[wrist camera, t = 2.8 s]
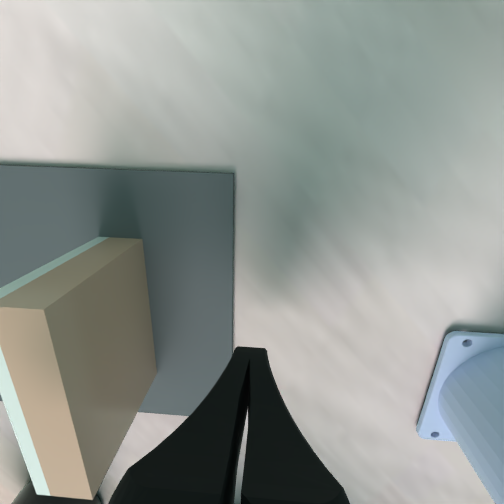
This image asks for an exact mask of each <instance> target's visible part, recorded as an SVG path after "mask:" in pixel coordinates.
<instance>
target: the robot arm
mask: <svg viewBox="0 0 504 504" xmlns="http://www.w3.org/2000/svg"><path fill="white" fill-rule="evenodd" d="M466 339H467V341H465V342H463V341H464V340H466ZM247 409H248V434H247V444H246V454H245V463H244V472H243V481H242V489H241V504H350V503H349V500H348V498H347V495H346V493H345V491H344V489H343V487H342V486H341V485H340V484H339V482H338V481H337V480H336V479H335V478H334V477H333V475H332V474H331V473H330V472H329V471H328V469H327V468H326V467H325V466H324V464H323V463H322V462H321V460H320V459H319V458H318V457H317V455H316V454H315V453H314V451H313V450H312V448H311V447H310V445H309V444H308V442H307V441H306V439H305V438H304V436H303V435H302V433H301V432H300V430H299V429H298V427H297V425H296V424H295V422H294V420H293V418H292V417H291V415H290V413H289V411H288V409H287V407H286V405H285V403H284V401H283V399H282V397H281V395H280V392H279V390H278V388H277V385H276V382H275V380H274V377H273V374H272V371H271V368H270V365H269V361H268V356H267V350H266V349H265V348H253V347H236V348H235V350H234V353H233V355H232V357H231V359H230V361H229V363H228V365H227V366H226V368H225V370H224V371H223V373H222V374H221V376H220V378H219V379H218V381H217V382H216V384H215V385H214V386H213V388H212V389H211V390H210V392H209V393H208V395H207V396H206V397H205V398H204V400H203V401H202V402H201V403H200V405H199V406H198V407H197V408H196V409H195V410H194V411H193V413H192V414H191V415H190V416H189V417H188V418H187V419H186V420H185V421H184V422H183V423H182V424H181V425H180V426H179V427H178V428H177V429H176V430H175V431H174V432H173V433H172V434H170V435H169V436H168V437H167V438H166V439H165V440H164V441H163V442H161V443H160V444H159V445H158V446H157V447H156V448H155V449H153V450H152V451H151V452H149V453H148V454H147V455H146V456H144V457H143V458H142V459H140V460H139V461H138V462H136V463H135V464H134V465H132V466H131V467H130V468H128V470H127V471H126V473H125V475H124V476H123V478H122V479H121V481H120V483H119V484H118V486H117V488H116V490H115V491H114V493H113V495H112V497H111V499H110V501H109V504H234V496H235V485H236V475H237V467H238V460H239V454H240V448H241V443H242V437H243V431H244V426H245V420H246V415H247ZM416 431H417V433H418V435H419V437H421V438H423V439H431V440H444V441H456V442H457V443H458V445H459V446H460V448H461V449H462V451H463V453H464V454H465V456H466V457H467V459H468V461H469V462H470V464H471V465H472V467H473V469H474V470H475V472H476V473H477V475H478V477H479V478H480V480H481V482H482V483H483V485H484V486H485V488H486V490H487V491H488V493H489V494H490V496H491V498H492V499H493V501H494V502H495V504H504V334H495V333H479V332H463V331H453V332H450V333H449V334H447V335H446V337H445V339H444V342H443V346H442V349H441V352H440V355H439V358H438V361H437V365H436V368H435V371H434V374H433V377H432V380H431V383H430V387H429V390H428V393H427V396H426V399H425V402H424V406H423V409H422V412H421V415H420V418H419V421H418V424H417V428H416Z"/></svg>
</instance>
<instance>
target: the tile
mask: <svg viewBox="0 0 504 504" xmlns="http://www.w3.org/2000/svg"><path fill="white" fill-rule="evenodd" d="M156 374H157V368H156V359H155V350H154V341H153V332H152V322H151V313H150V304H149V295H148V286H147V277H146V267H145V258H144V249H143V240H142V239H134V238H114V237H97V238H95V239H93V240H91V241H89V242H87V243H85V244H84V245H82V246H80V247H78V248H76V249H74V250H72V251H70V252H68V253H66V254H64V255H63V256H61V257H59V258H57V259H55V260H53V261H51V262H49V263H47V264H45V265H43V266H41V267H40V268H38V269H36V270H34V271H32V272H30V273H28V274H26V275H24V276H22V277H20V278H19V279H17V280H15V281H13V282H11V283H9V284H7V285H5V286H3V287H1V288H0V394H1V397H2V400H3V403H4V405H5V408H6V411H7V414H8V416H9V419H10V422H11V425H12V427H13V430H14V433H15V436H16V439H17V441H18V444H19V447H20V450H21V452H22V455H23V458H24V461H25V463H26V466H27V469H28V472H29V474H30V477H31V480H32V483H33V485H34V488H35V491H36V494H38V495H48V496H58V497H68V498H78V499H88V500H93V499H94V497H95V495H96V493H97V491H98V489H99V487H100V485H101V483H102V481H103V479H104V477H105V475H106V473H107V471H108V469H109V467H110V465H111V463H112V461H113V459H114V457H115V455H116V453H117V451H118V449H119V447H120V445H121V443H122V441H123V439H124V437H125V436H126V434H127V432H128V430H129V428H130V426H131V424H132V422H133V420H134V418H135V416H136V414H137V412H138V410H139V408H140V406H141V404H142V402H143V400H144V398H145V396H146V394H147V392H148V390H149V388H150V386H151V384H152V382H153V380H154V378H155V376H156Z"/></svg>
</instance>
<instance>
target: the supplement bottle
mask: <svg viewBox="0 0 504 504" xmlns="http://www.w3.org/2000/svg"><path fill="white" fill-rule="evenodd" d="M11 504H101V502H100V499H99V497H98V496H97V494H96V495H95V497H94V499H93V500H88V499H78V498H68V497H58V496H48V495H38V494H36V491H35V488H34V485H33V483H32V481H30V482H29V483H28V484H27V485H25V486H24V488H23V489H22V490H21V491H20V493H19V494H18V495H17V497H16V498H15V499H14V501H13V502H12V503H11Z"/></svg>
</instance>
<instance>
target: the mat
mask: <svg viewBox="0 0 504 504" xmlns="http://www.w3.org/2000/svg"><path fill="white" fill-rule="evenodd" d="M233 218H234V173H210V172H182V171H155V170H128V169H100V168H73V167H45V166H18V165H0V288H1V287H3V286H5V285H7V284H9V283H11V282H13V281H15V280H17V279H19V278H20V277H22V276H24V275H26V274H28V273H30V272H32V271H34V270H36V269H38V268H40V267H41V266H43V265H45V264H47V263H49V262H51V261H53V260H55V259H57V258H59V257H61V256H63V255H64V254H66V253H68V252H70V251H72V250H74V249H76V248H78V247H80V246H82V245H84V244H85V243H87V242H89V241H91V240H93V239H95V238H97V237H114V238H134V239H142V240H143V249H144V258H145V267H146V277H147V286H148V295H149V304H150V313H151V322H152V332H153V341H154V350H155V359H156V368H157V374H156V376H155V378H154V380H153V382H152V384H151V386H150V388H149V390H148V392H147V394H146V396H145V398H144V400H143V402H142V404H141V406H140V408H139V410H138V412H145V413H157V414H170V415H182V416H190V415H191V414H192V413H193V411H194V410H195V409H196V408H197V407H198V406H199V405H200V403H201V402H202V401H203V400H204V398H205V397H206V396H207V395H208V393H209V392H210V390H211V389H212V388H213V386H214V385H215V384H216V382H217V381H218V379H219V378H220V376H221V374H222V373H223V371H224V370H225V368H226V366H227V365H228V363H229V361H230V359H231V357H232V355H233ZM0 401H3V400H2V397H1V394H0Z"/></svg>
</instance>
